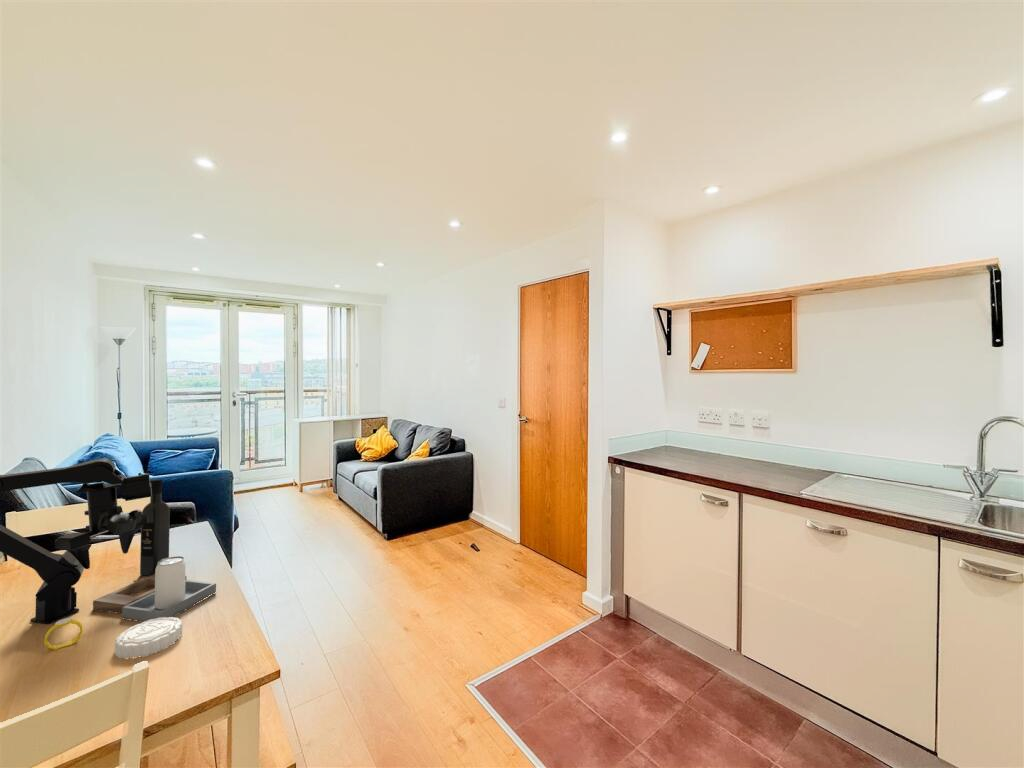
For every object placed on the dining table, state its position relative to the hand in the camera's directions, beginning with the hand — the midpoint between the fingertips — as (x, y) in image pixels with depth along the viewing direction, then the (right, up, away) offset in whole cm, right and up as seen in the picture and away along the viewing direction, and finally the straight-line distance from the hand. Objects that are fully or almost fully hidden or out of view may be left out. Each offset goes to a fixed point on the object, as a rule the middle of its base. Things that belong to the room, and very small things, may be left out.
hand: (107, 560), depth 114 cm
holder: (+6, -12, +5) cm, 14 cm away
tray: (+18, -12, 0) cm, 22 cm away
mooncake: (+26, -13, -16) cm, 33 cm away
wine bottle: (-4, -12, +20) cm, 23 cm away
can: (+18, -12, -1) cm, 21 cm away
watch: (+8, -12, -18) cm, 23 cm away
